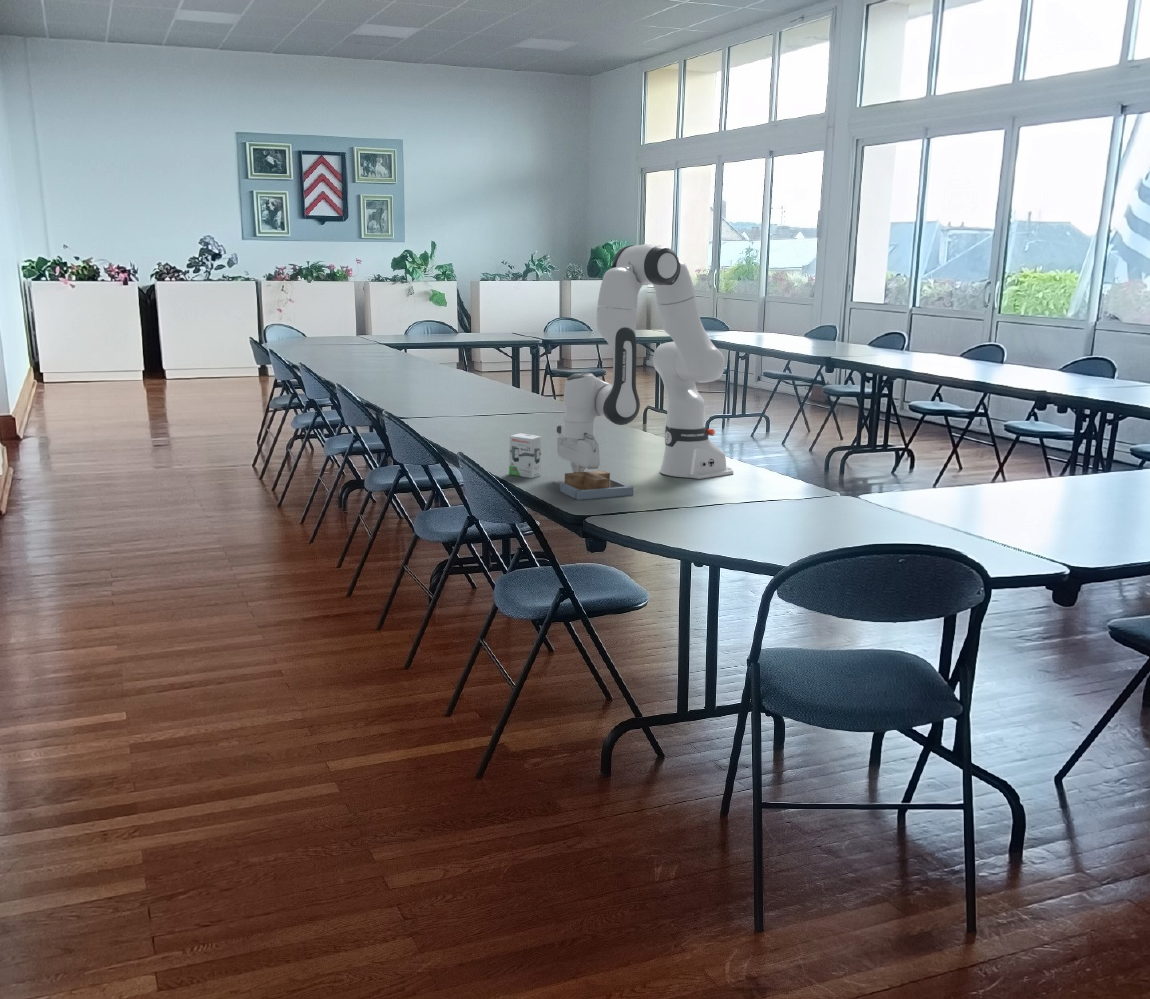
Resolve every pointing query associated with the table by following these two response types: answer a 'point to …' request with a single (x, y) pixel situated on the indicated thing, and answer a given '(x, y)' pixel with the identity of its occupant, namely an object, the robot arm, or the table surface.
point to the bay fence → (598, 491)
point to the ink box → (525, 455)
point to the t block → (588, 480)
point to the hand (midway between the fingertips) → (577, 478)
